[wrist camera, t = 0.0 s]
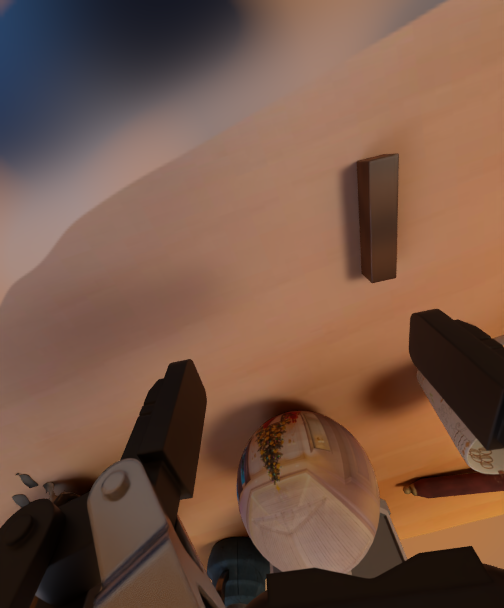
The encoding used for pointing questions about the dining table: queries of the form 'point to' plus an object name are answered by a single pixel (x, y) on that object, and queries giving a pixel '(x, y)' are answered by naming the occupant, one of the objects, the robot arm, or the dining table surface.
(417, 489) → the gavel
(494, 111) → the dining table surface
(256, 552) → the lantern
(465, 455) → the mug
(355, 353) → the dining table surface
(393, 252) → the stick
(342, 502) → the ornament
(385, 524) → the alarm clock
